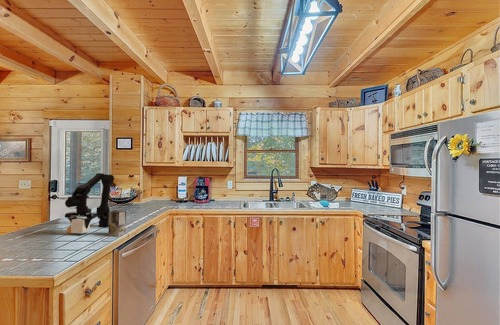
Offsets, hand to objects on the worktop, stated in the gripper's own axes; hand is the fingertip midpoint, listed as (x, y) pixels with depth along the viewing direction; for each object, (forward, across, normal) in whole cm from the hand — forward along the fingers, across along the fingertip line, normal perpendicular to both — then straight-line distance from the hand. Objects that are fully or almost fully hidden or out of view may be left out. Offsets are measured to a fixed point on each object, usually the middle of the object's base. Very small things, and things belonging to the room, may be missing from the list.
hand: (80, 228), depth 178 cm
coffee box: (+4, -24, -2) cm, 24 cm away
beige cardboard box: (+2, 0, 0) cm, 3 cm away
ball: (+2, +7, 0) cm, 7 cm away
